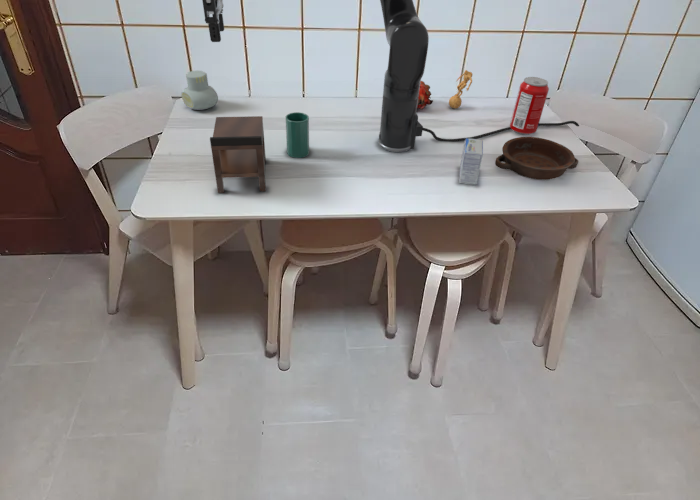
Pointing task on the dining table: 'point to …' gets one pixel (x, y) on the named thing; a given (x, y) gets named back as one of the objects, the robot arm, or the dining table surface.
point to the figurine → (460, 90)
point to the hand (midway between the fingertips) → (218, 36)
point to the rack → (238, 149)
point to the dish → (536, 158)
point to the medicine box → (471, 161)
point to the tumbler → (297, 134)
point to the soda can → (529, 105)
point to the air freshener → (198, 91)
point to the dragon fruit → (424, 96)
